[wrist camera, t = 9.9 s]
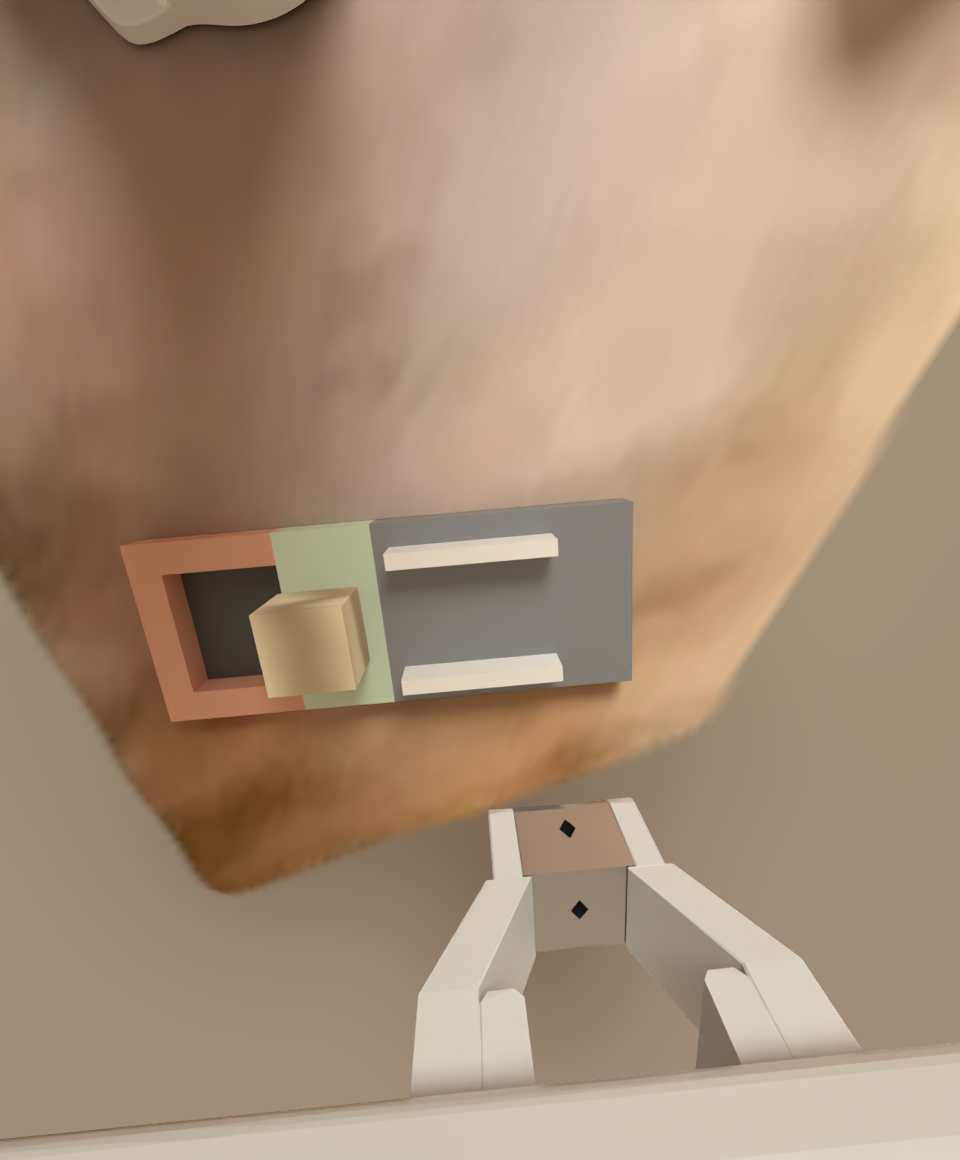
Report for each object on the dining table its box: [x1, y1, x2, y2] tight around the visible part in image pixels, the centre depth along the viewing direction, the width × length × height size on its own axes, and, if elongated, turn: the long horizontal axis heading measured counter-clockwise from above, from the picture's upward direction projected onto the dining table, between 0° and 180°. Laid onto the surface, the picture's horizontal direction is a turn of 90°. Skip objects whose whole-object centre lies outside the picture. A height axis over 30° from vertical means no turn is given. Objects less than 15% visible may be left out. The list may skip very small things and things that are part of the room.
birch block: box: [249, 586, 370, 698], centre depth 28 cm, size 5×5×4 cm
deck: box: [119, 498, 633, 722], centre depth 30 cm, size 31×12×2 cm, turn 95°
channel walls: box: [383, 533, 563, 696], centre depth 29 cm, size 10×9×2 cm
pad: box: [269, 520, 395, 710], centre depth 30 cm, size 6×12×2 cm, turn 5°
